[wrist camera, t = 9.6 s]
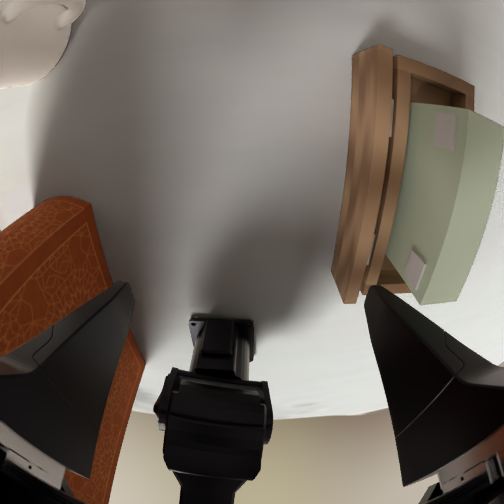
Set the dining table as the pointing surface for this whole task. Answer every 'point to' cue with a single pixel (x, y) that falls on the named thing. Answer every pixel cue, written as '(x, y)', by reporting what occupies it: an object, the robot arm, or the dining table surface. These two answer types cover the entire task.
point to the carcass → (381, 161)
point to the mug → (33, 38)
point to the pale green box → (443, 198)
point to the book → (65, 312)
